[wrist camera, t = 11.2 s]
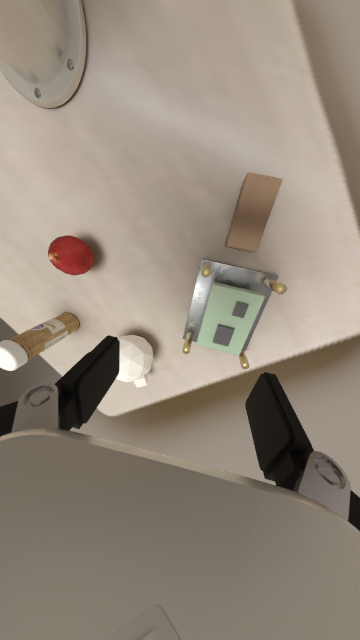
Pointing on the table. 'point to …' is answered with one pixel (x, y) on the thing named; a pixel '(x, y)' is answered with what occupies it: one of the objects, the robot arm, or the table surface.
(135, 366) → the perfume bottle
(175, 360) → the table surface
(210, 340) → the board
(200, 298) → the chassis
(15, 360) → the sprinkles bottle
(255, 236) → the walnut stand
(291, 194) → the table surface
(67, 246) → the onion
